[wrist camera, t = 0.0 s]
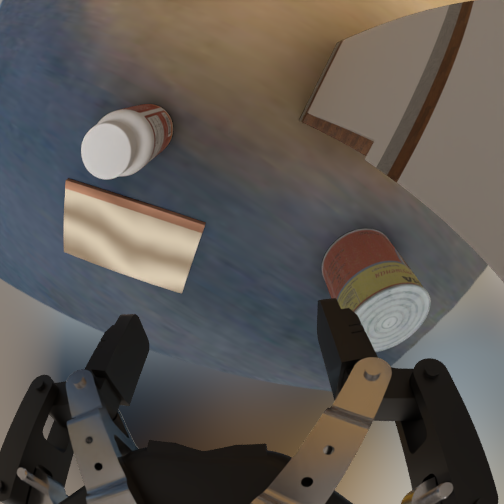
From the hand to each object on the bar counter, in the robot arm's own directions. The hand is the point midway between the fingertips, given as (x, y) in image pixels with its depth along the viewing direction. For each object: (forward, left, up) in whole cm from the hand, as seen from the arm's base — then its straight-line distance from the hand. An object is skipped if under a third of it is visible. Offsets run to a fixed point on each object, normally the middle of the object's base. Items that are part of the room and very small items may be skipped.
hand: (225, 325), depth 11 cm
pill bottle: (-1, -11, -23) cm, 25 cm away
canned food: (+6, +21, -23) cm, 31 cm away
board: (+14, -11, -22) cm, 28 cm away
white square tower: (-13, +10, -23) cm, 28 cm away
